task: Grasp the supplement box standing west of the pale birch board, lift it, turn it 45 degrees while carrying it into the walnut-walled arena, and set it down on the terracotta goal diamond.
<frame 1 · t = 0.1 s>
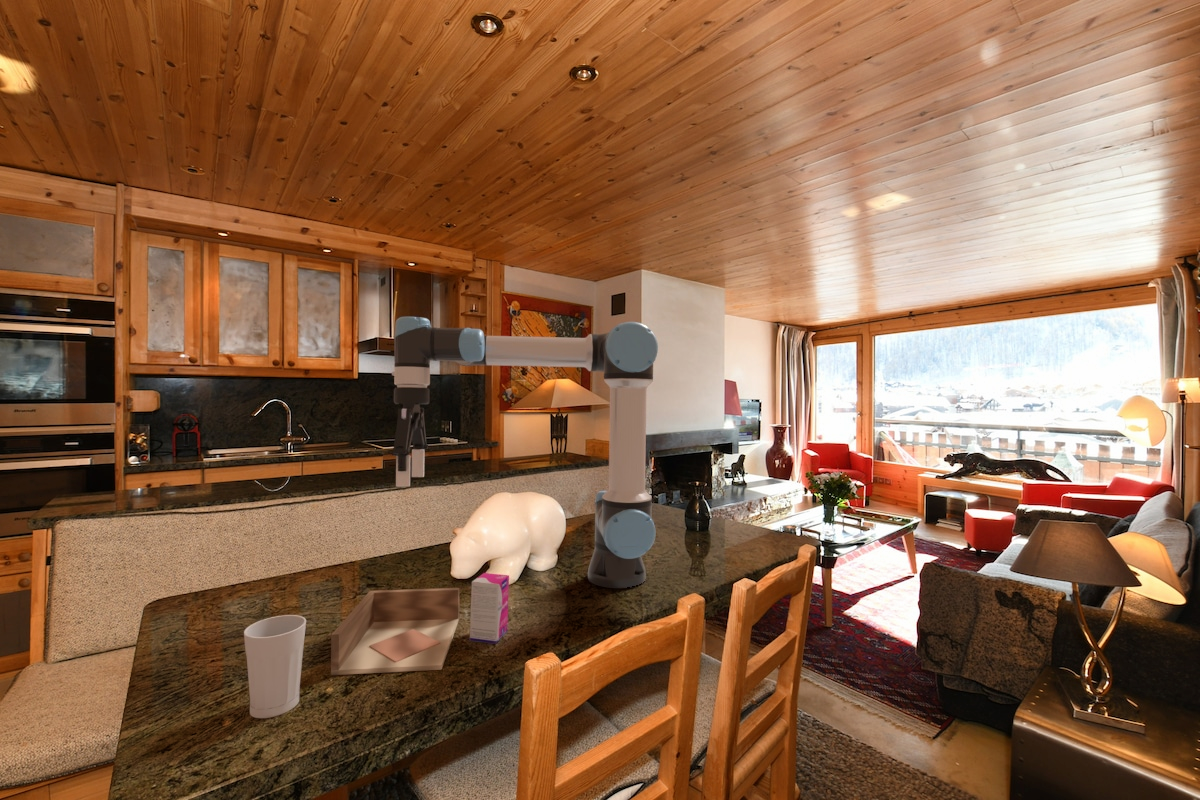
hand: (410, 481, 115), 28 cm above the table, fingers open, 13 cm apart
cup: (274, 706, 78), on the table
supplement box: (489, 637, 101), on the table
arena: (402, 644, 97), on the table
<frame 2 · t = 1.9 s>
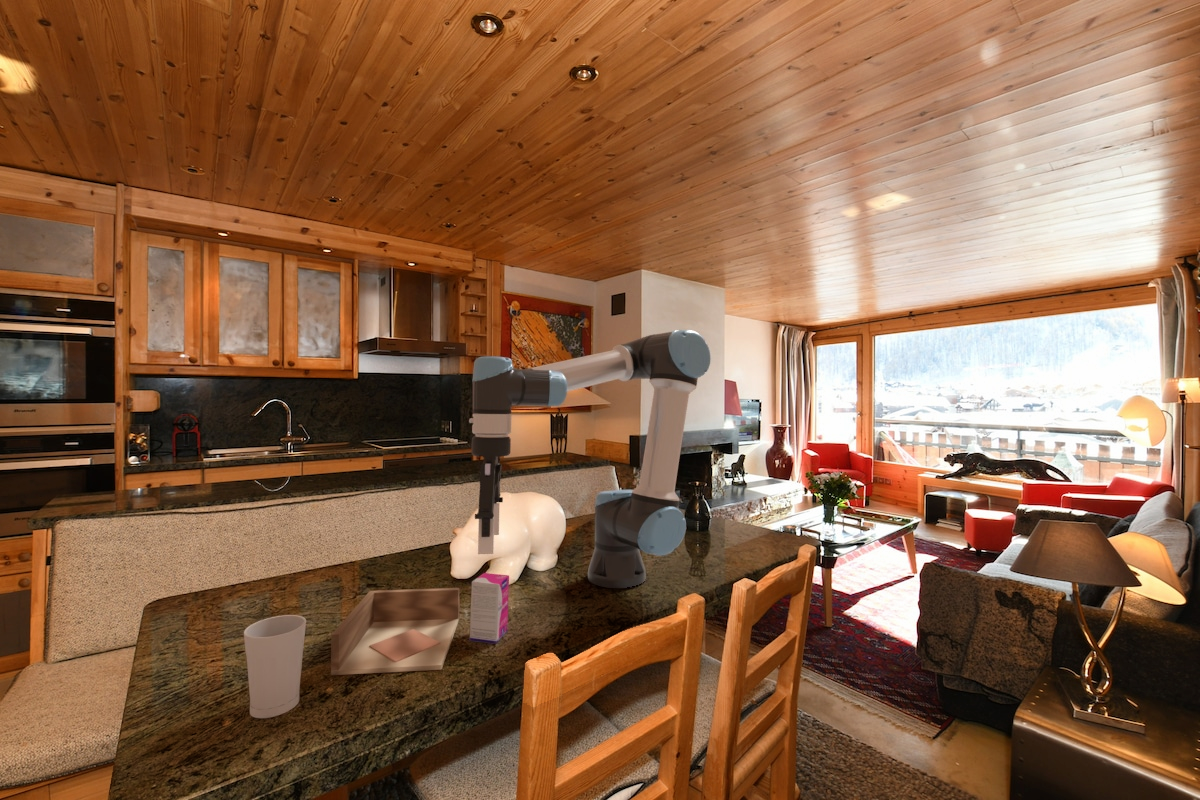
hand: (489, 543, 101), 18 cm above the table, fingers open, 13 cm apart
nothing on the table moved.
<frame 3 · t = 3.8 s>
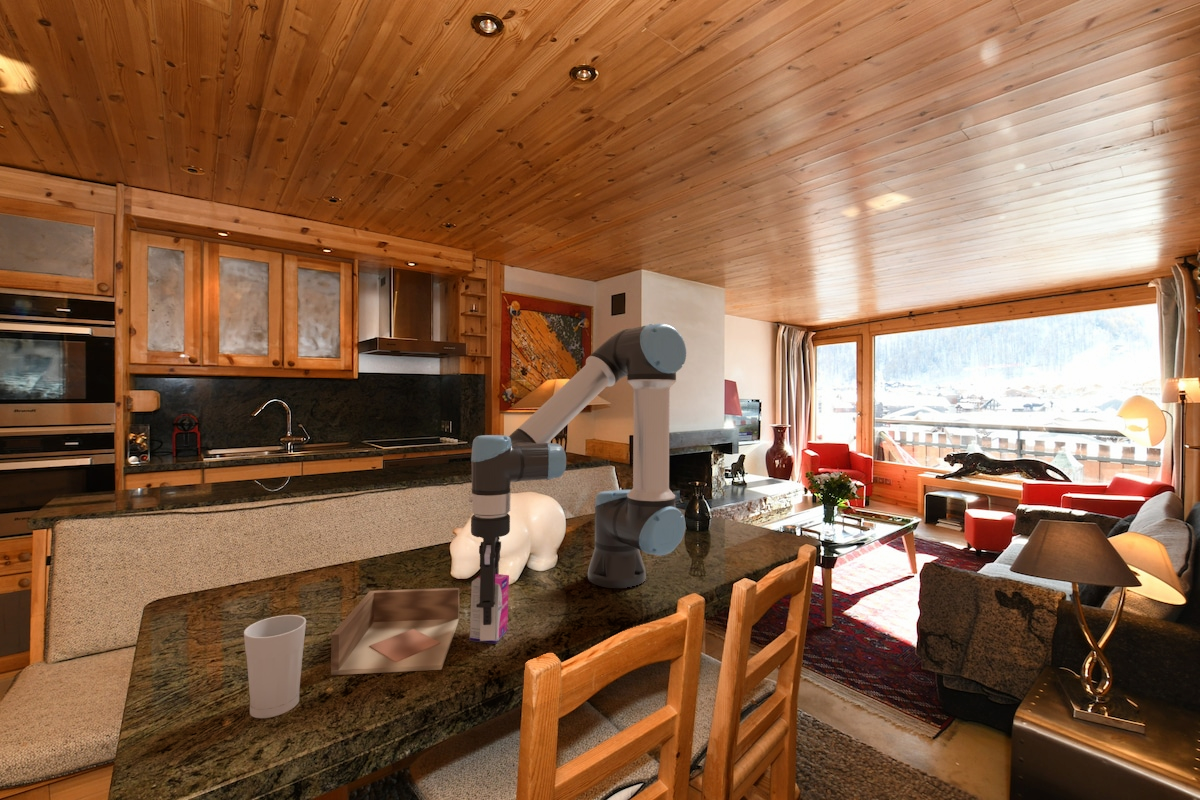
hand: (489, 630, 101), 1 cm above the table, fingers closed on supplement box, 7 cm apart
supplement box: (489, 637, 101), on the table, touching gripper
everything else where it was.
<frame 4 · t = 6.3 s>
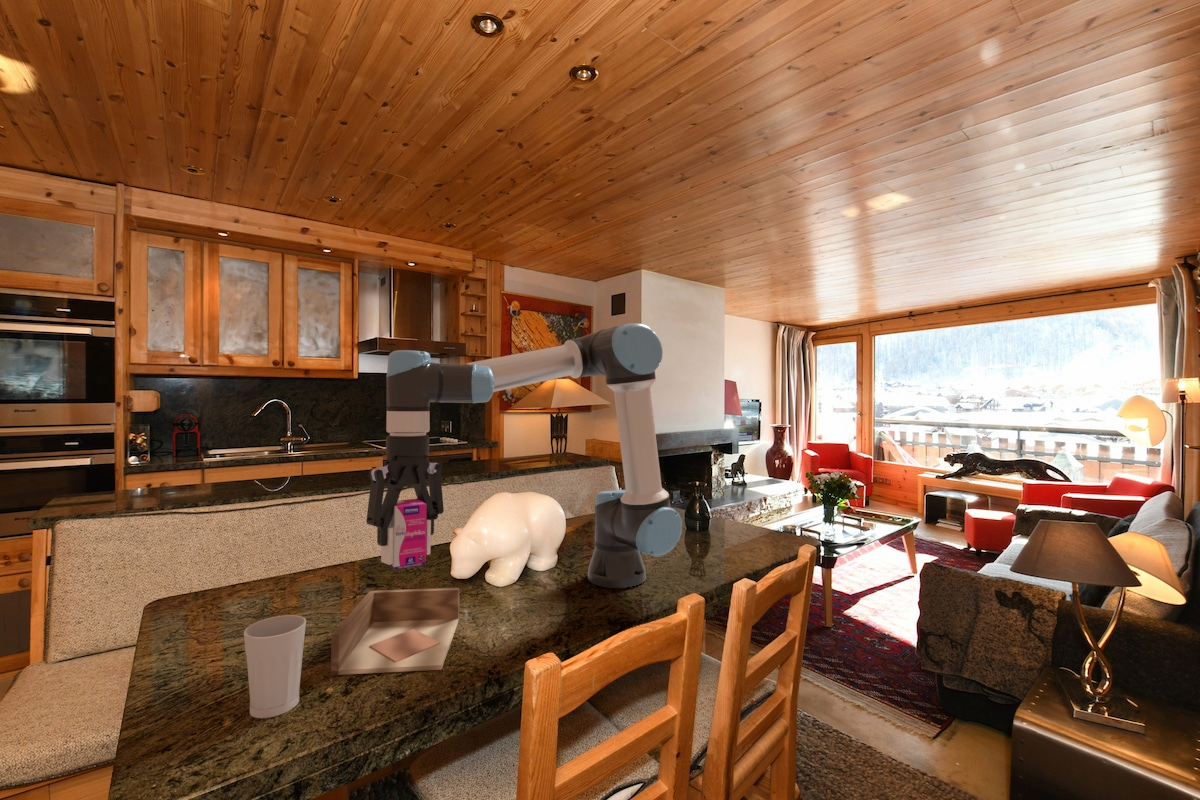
hand: (406, 557, 95), 17 cm above the table, fingers closed on supplement box, 7 cm apart
supplement box: (406, 564, 95), point 16 cm above the table, touching gripper
everything else where it was.
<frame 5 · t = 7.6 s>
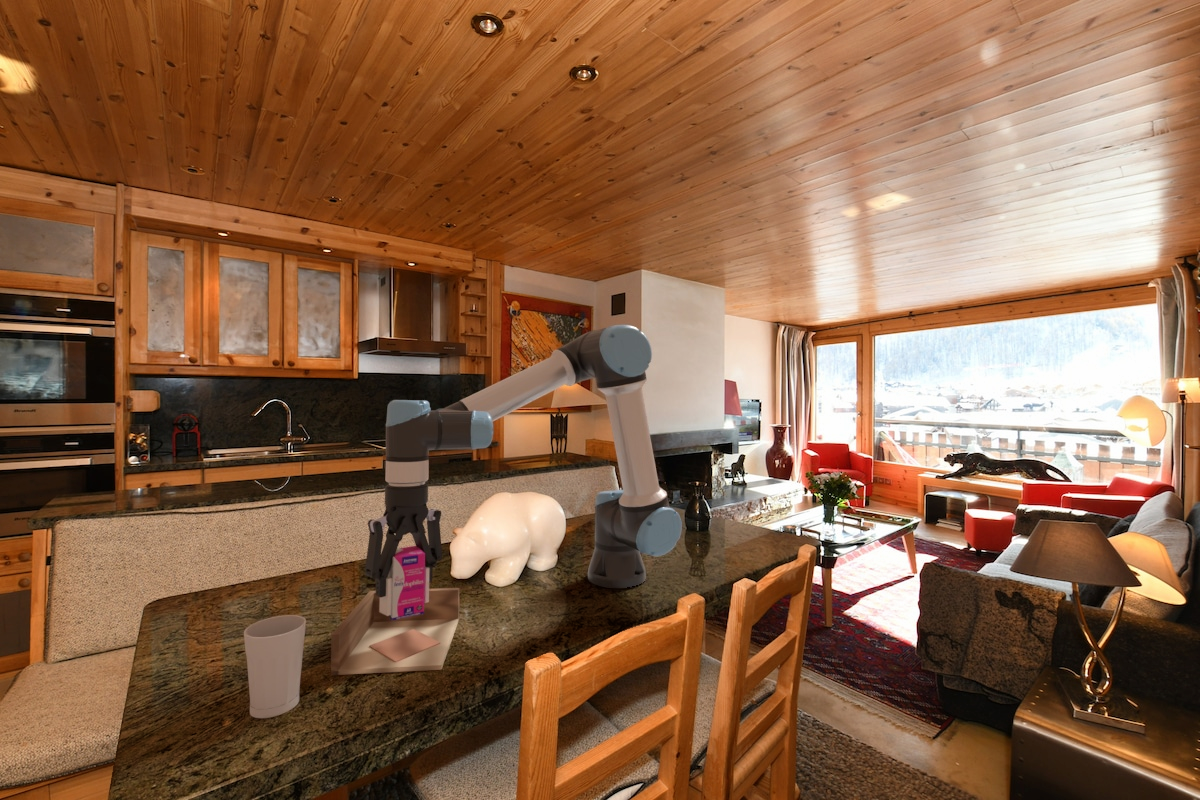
hand: (404, 606, 95), 8 cm above the table, fingers closed on supplement box, 7 cm apart
supplement box: (404, 613, 95), point 7 cm above the table, touching gripper
everything else where it was.
when the fingers open (3 cm above the table, at t = 8.7 s): supplement box drops 1 cm, resting on arena.
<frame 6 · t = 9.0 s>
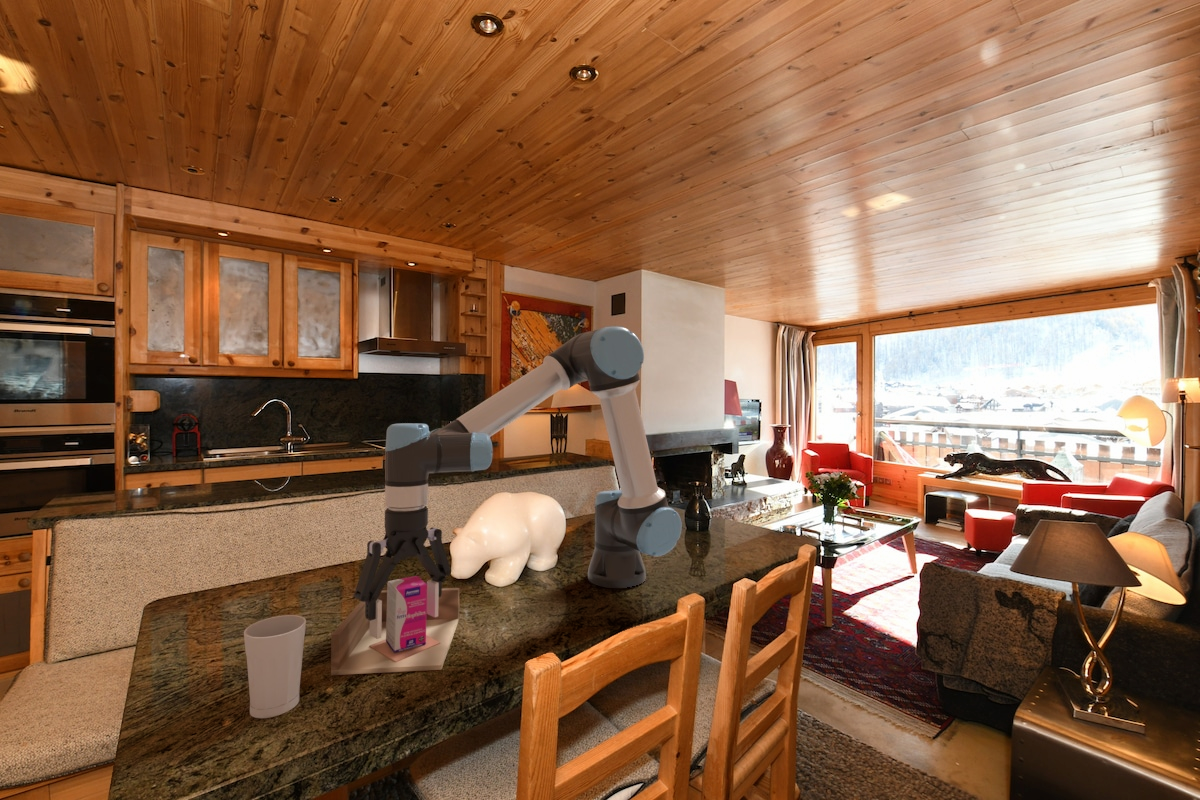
hand: (405, 625, 95), 4 cm above the table, fingers open, 11 cm apart
supplement box: (406, 644, 95), point 1 cm above the table, touching arena
everything else where it was.
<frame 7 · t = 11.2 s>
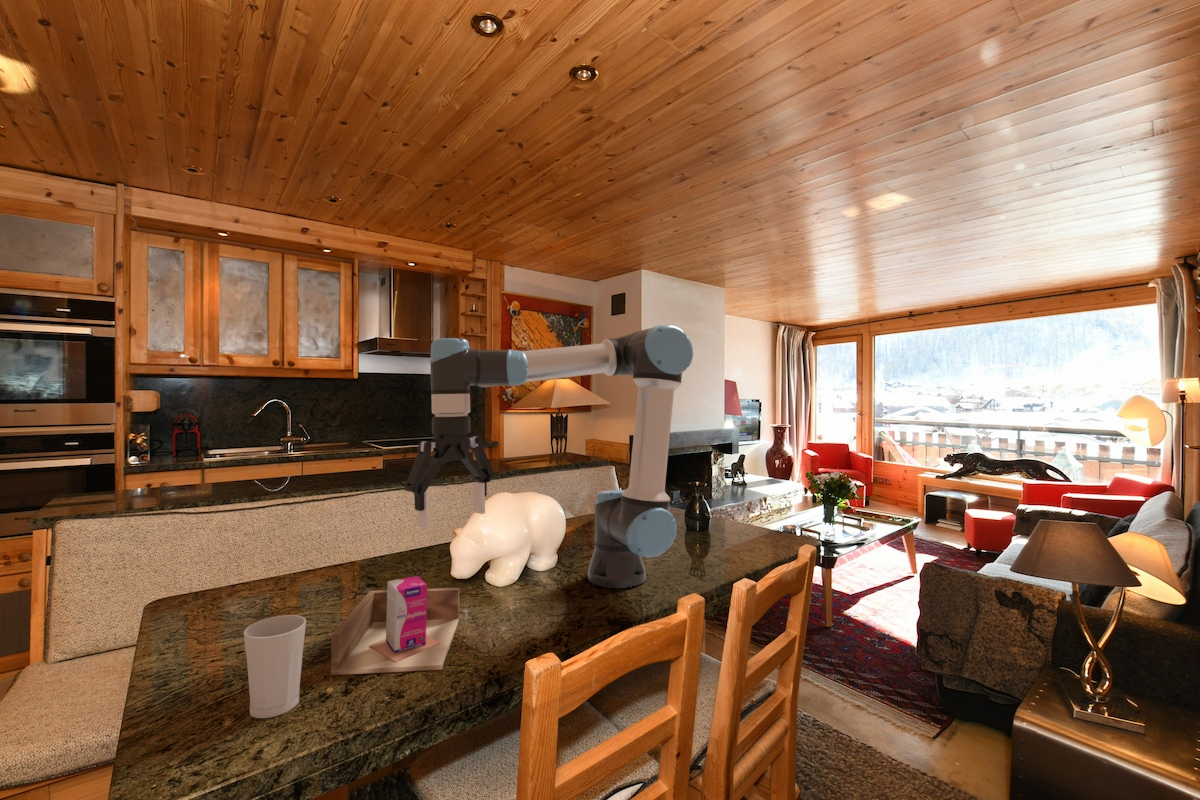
hand: (453, 519, 105), 22 cm above the table, fingers open, 13 cm apart
nothing on the table moved.
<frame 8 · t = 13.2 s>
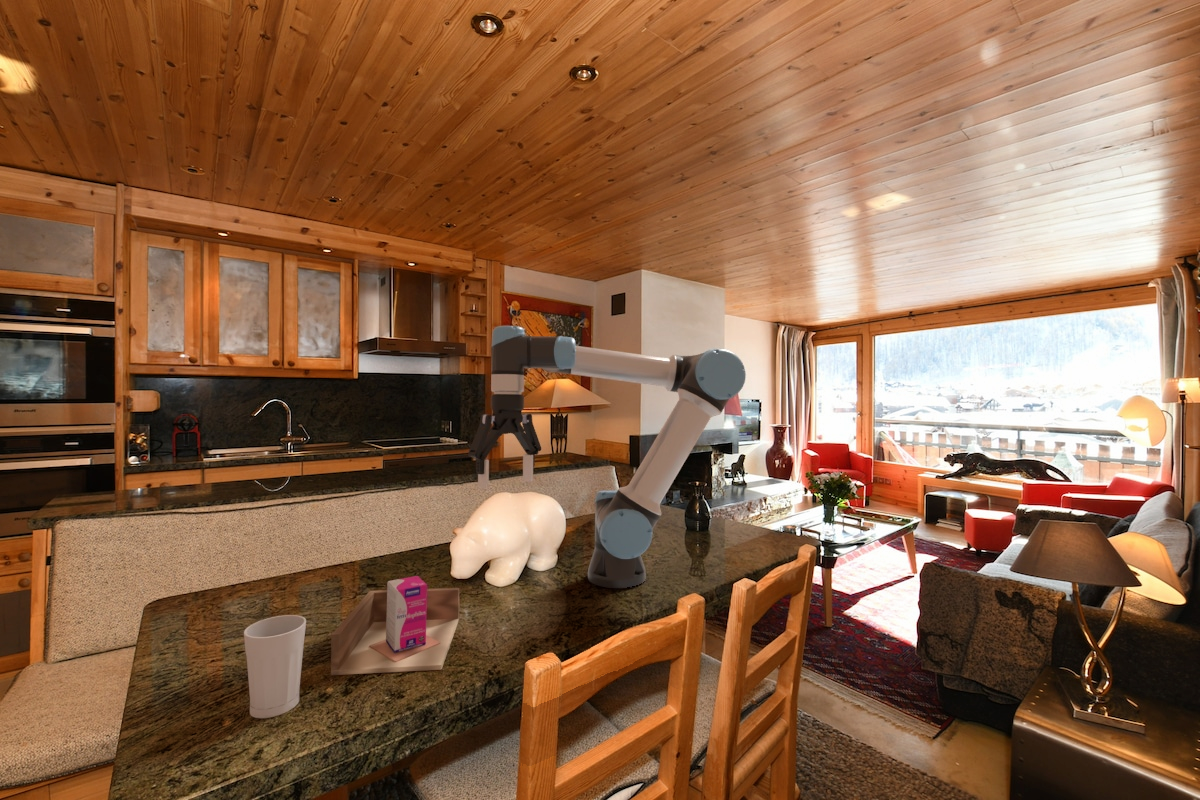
hand: (506, 485, 119), 27 cm above the table, fingers open, 13 cm apart
nothing on the table moved.
at the end: supplement box inside the target area on the arena (0.1 cm from its centre), point 0.8 cm above the arena's base; supplement box tilted 0°; the gripper is holding nothing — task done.
